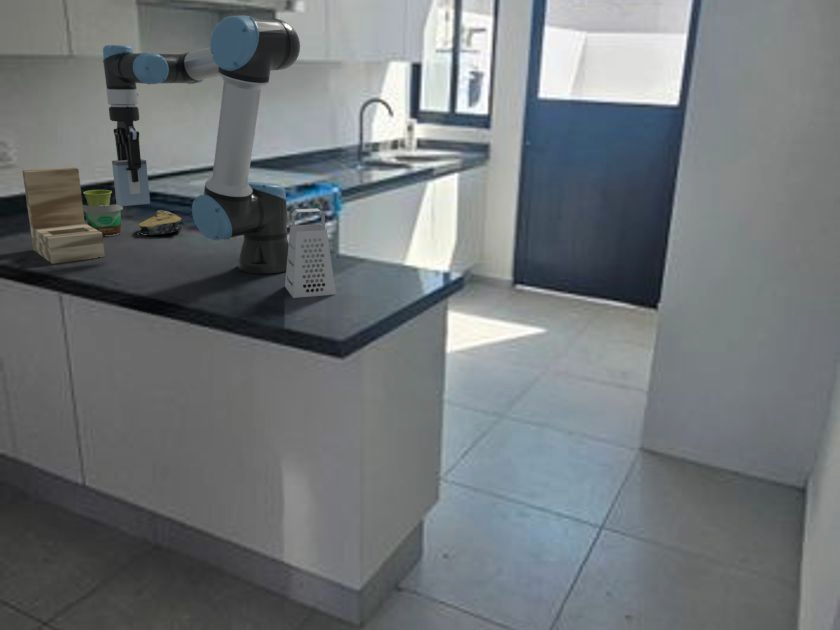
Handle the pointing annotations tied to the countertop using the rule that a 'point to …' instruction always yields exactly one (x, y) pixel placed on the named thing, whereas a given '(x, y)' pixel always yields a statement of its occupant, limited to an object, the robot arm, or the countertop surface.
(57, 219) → the slotted wooden holder
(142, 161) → the pale blue plaque
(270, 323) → the countertop surface
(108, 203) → the plant pot
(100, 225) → the food container
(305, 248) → the grater
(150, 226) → the yellow piece
